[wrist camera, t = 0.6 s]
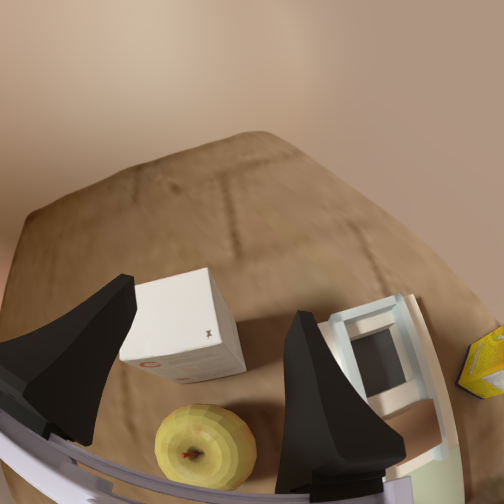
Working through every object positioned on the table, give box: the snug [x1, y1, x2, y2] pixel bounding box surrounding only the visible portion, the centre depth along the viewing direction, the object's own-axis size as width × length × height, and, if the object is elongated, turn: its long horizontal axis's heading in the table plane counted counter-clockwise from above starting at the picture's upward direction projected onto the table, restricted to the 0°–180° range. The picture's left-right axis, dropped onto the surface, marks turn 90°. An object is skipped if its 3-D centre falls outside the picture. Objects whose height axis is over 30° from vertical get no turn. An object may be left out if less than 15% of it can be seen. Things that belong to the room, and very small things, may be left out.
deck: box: [317, 293, 465, 504], centre depth 19 cm, size 32×14×4 cm, turn 11°
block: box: [380, 398, 442, 466], centre depth 18 cm, size 5×5×4 cm
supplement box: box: [455, 325, 504, 399], centre depth 18 cm, size 6×6×11 cm
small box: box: [120, 267, 247, 384], centre depth 24 cm, size 8×6×13 cm
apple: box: [155, 404, 257, 491], centre depth 20 cm, size 10×10×8 cm
